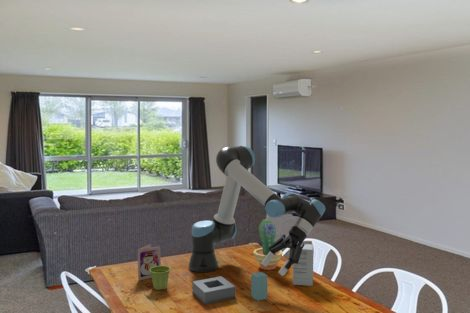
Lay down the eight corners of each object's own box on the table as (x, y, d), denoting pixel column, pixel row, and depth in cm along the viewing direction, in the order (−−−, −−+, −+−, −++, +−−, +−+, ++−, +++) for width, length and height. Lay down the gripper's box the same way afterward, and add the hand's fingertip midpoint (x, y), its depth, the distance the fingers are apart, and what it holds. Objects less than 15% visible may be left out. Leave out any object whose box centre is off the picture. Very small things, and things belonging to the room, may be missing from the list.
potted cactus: (248, 269, 214) (248, 221, 212) (258, 260, 228) (258, 215, 227) (278, 273, 208) (278, 223, 206) (286, 264, 222) (286, 217, 221)
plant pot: (174, 285, 194) (174, 266, 193) (164, 292, 185) (164, 273, 185) (156, 282, 197) (156, 264, 196) (145, 290, 188) (145, 271, 188)
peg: (251, 296, 180) (251, 273, 180) (261, 294, 183) (261, 271, 182) (257, 300, 176) (256, 277, 175) (267, 298, 178) (267, 275, 177)
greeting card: (139, 281, 200) (138, 250, 198) (133, 276, 206) (132, 246, 205) (161, 276, 206) (160, 246, 205) (155, 272, 212) (155, 242, 211)
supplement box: (312, 286, 191) (313, 249, 190) (292, 285, 193) (292, 248, 192) (313, 279, 200) (313, 244, 199) (293, 277, 202) (293, 243, 201)
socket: (192, 292, 185) (192, 281, 185) (221, 286, 191) (221, 276, 191) (204, 304, 172) (204, 292, 172) (235, 297, 179) (235, 286, 178)
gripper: (323, 242, 176) (293, 283, 170) (289, 229, 198) (262, 266, 192) (313, 231, 173) (282, 273, 167) (279, 219, 195) (251, 256, 190)
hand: (271, 269), depth 180 cm, fingers open, 13 cm apart
